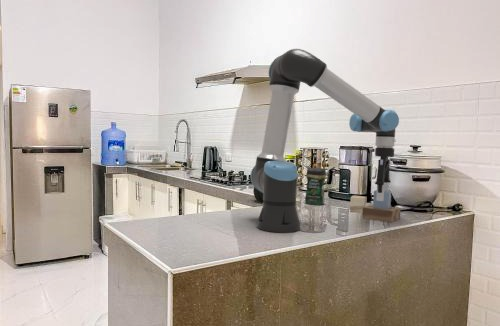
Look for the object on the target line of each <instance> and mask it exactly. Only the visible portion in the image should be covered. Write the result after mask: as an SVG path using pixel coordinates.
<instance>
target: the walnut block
mask: <svg viewBox="0 0 500 326" xmlns="http://www.w3.org/2000/svg"><path fill="white" fill-rule="evenodd" d="M401 209H402V208H401V207H395V206H390V208H389V209H379V208H373V204H370V205H366V207H363V213H361V214H362V215H361V217H362V219H365V220H370V221H376V220H379V222H383V221H387V222H386V223H390V222H392V223H394V222H396V221H397V219H398V220H400V219H401V211H402V210H401ZM399 218H400V219H399ZM395 220H396V221H395ZM393 221H394V222H393Z"/></svg>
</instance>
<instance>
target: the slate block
mask: <svg viewBox="0 0 500 326" xmlns="http://www.w3.org/2000/svg"><path fill="white" fill-rule="evenodd" d="M376 195H377V189H375V190H374V191H373V200H372V201H373V203H372V205H373V208H379V209H389V208H390V207H391V202H392V199H391V198H392V191H391V190H388V191H384V200H383V201H377V200H376Z"/></svg>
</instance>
